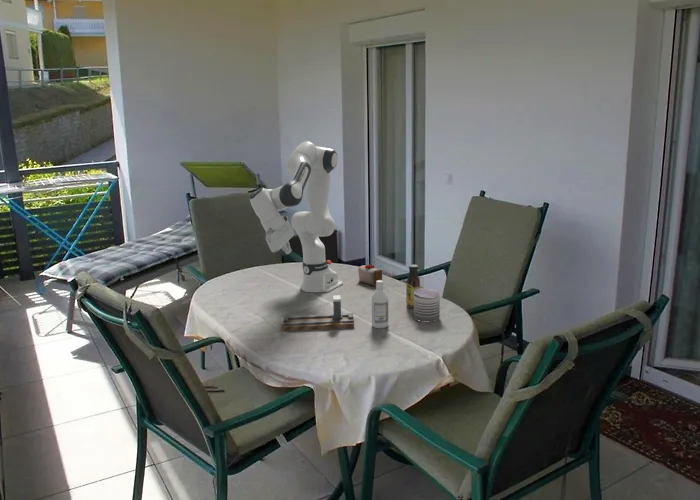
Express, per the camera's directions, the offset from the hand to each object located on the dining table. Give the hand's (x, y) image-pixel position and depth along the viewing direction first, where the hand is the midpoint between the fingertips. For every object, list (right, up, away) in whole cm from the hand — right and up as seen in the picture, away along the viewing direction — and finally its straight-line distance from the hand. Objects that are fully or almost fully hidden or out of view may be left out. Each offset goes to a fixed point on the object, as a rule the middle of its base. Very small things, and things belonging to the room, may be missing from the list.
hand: (289, 252), depth 275 cm
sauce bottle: (+55, -25, +19) cm, 64 cm away
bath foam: (+39, -31, -3) cm, 50 cm away
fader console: (+13, -31, 0) cm, 33 cm away
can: (+60, -29, +5) cm, 67 cm away
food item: (+37, -16, +56) cm, 69 cm away
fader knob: (+21, -28, 0) cm, 35 cm away
